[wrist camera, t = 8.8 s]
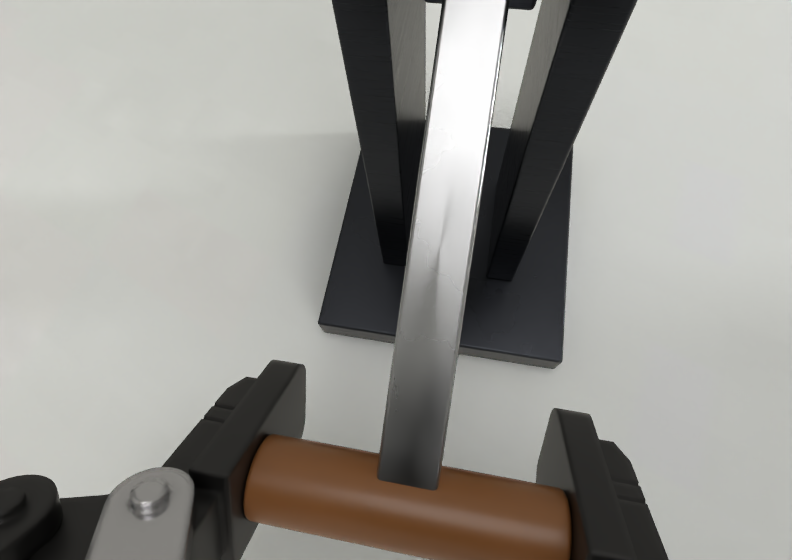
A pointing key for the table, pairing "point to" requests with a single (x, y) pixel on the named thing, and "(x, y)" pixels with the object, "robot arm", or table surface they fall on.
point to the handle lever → (425, 360)
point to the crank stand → (502, 185)
